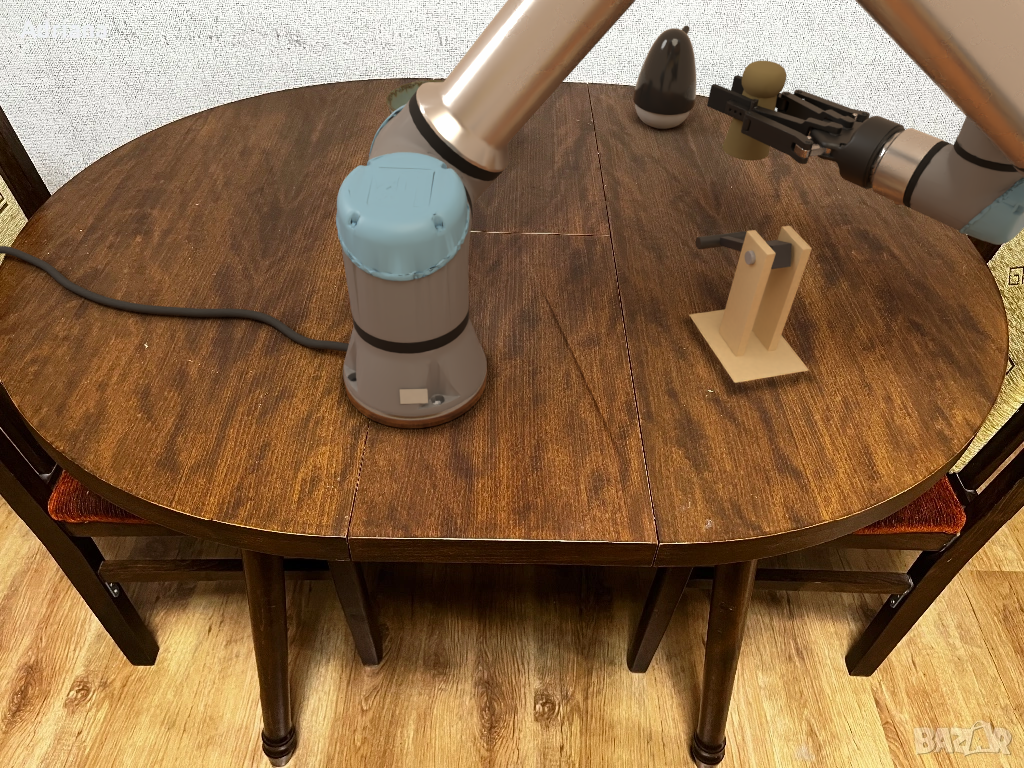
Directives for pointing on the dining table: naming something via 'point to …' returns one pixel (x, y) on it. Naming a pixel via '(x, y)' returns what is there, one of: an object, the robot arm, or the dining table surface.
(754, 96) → the cork
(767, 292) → the bracket
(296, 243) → the dining table surface
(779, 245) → the lever
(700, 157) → the dining table surface
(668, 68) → the brown white egg shape
